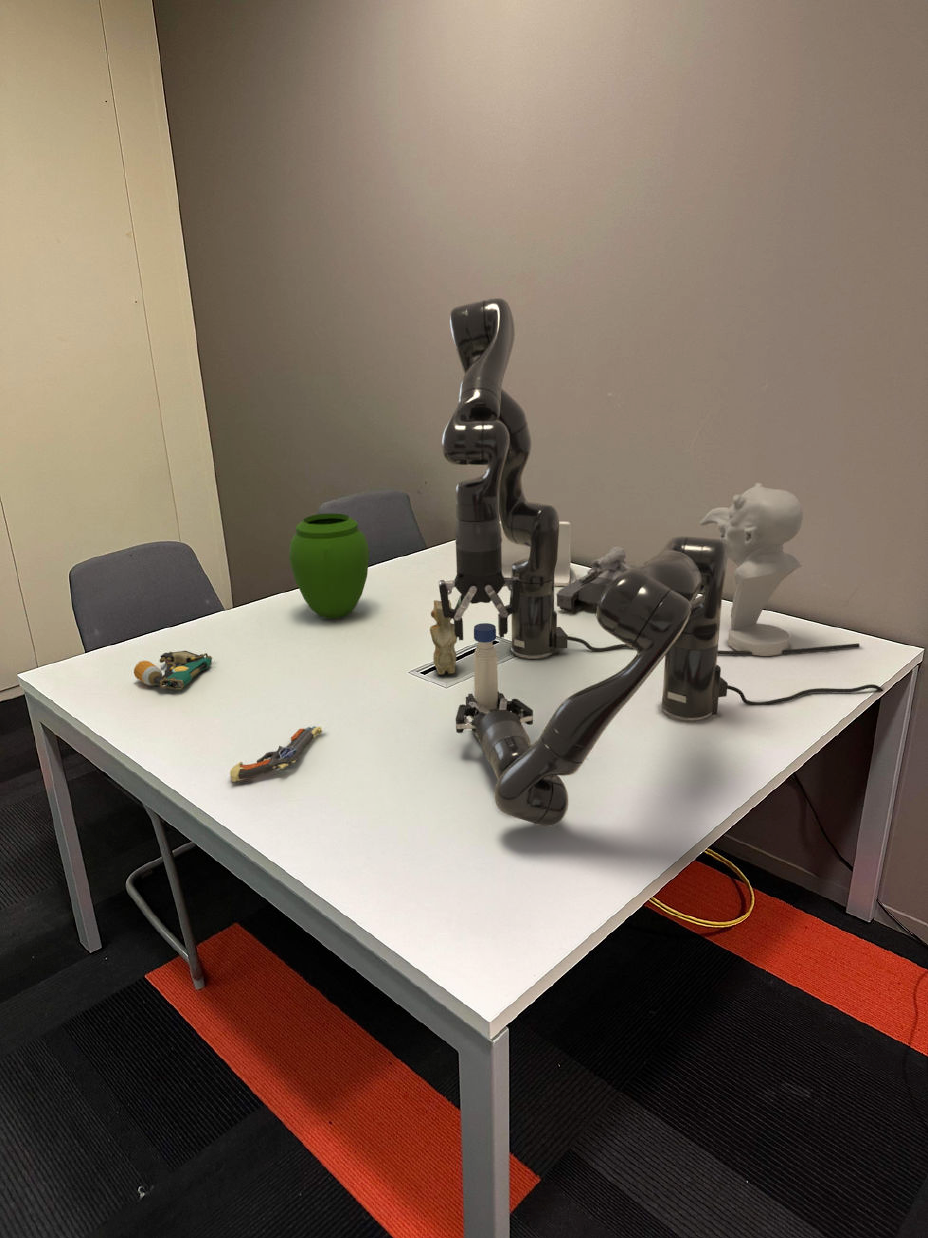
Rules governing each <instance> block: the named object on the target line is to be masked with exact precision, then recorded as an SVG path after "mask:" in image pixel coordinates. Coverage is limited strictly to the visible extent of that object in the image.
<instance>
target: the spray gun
mask: <svg viewBox="0 0 928 1238" xmlns="http://www.w3.org/2000/svg"><path fill="white" fill-rule="evenodd" d="M212 660H213V657H212V656H211V655H208V653H207V652H205V653H201V654H197V653H194V652H192V651H191V652H190V651H188V650H180V651H169V652H164V653H162V654H161V655H160V658H159V660H158V662H159V663H161V664H163V663H165V664H166V668H165V670H163V672H164V674H163V673H162V669H160V668H159V666H157V665H156V664H154V663H152V662H151V661H149V660H141V661H139V662H138V663H136V665H135V666H134V668H133V675H134V677H135V678H136V679H137V680H139V681H140V682H142V683H143V684H145V685H147V686H155V685H157V686H158V687H160V688H161V689H171V690H172V689H173V690H182V689H184V687H185V686H186V685H188V684H189V683H190V682H191V681H192V679H193V678H195V677H196V676H197V675H198V674H200V673H201V672H202V671H203V670H206V669H208V668H209V667H210V666H211V665H212V662H213V661H212ZM178 663H179V664H181V665H179V666H176V665H177V664H178Z"/></svg>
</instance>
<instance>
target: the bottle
mask: <svg viewBox="0 0 928 1238" xmlns="http://www.w3.org/2000/svg"><path fill="white" fill-rule="evenodd" d="M498 675H499V674H498V653H497V650H496V648H495V646H494V644H493V641H492V642H487V643H482V642H477V646H476V648H475V650H474V652H473V683H474V684H473V685H474V687H473V689H474V698H475V700H476V704H478V705H482V706H483V707H484V708H486V709H487V710H492V709H497V708H498V691H499V680H498V679H499V677H498ZM475 737H476V738H477V739H478V737H477V734H476V733H475Z"/></svg>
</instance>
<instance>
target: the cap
mask: <svg viewBox="0 0 928 1238" xmlns="http://www.w3.org/2000/svg"><path fill="white" fill-rule="evenodd" d="M473 639H474V641H476V642H477V643H478V642H482V643H487V642H492V643H493V642H494V641H496V639H497V627H496V625H495V624H493V623H488V622H482V623H477V624H475V625H474V626H473Z"/></svg>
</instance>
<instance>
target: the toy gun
mask: <svg viewBox="0 0 928 1238" xmlns="http://www.w3.org/2000/svg"><path fill="white" fill-rule="evenodd" d="M322 732H323V730H322V726H316V725H314V726H307V727H306V728H299V729H298V730H297V731H296V732H295V733H294V734H293V735H292V736H291V737H290V743H289V744H287V745H286V746H281V745H279V746H278V749H277V750H275V751H267V752H266V753H265V754H264V755H263V756H262V757H260V758H259V759H257V760H256V762H254V763H250V764H244V763H243V762H242V761H239V762H238V763H236V764H235V765H233V766H232V768H231V769H230V772H229V775H230V778H231V782H232V781H233V782H238V781H242V780H246V779H252V778H255V777H257V776H260V775H264V774H268V773H271V772H274V771H277V770H279V769H280V770H284V769H285V768H286V767H288V766H289V765H291V764H294V763H296V761H297V760H299V758H300V757H301V756H302V754H303V752H304V750H305V748H306V747H308V745H309V744H310V743H311V742H312V741H313V740H314V739H315V738H316V737H317V736H318V735H320V734H322Z"/></svg>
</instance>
